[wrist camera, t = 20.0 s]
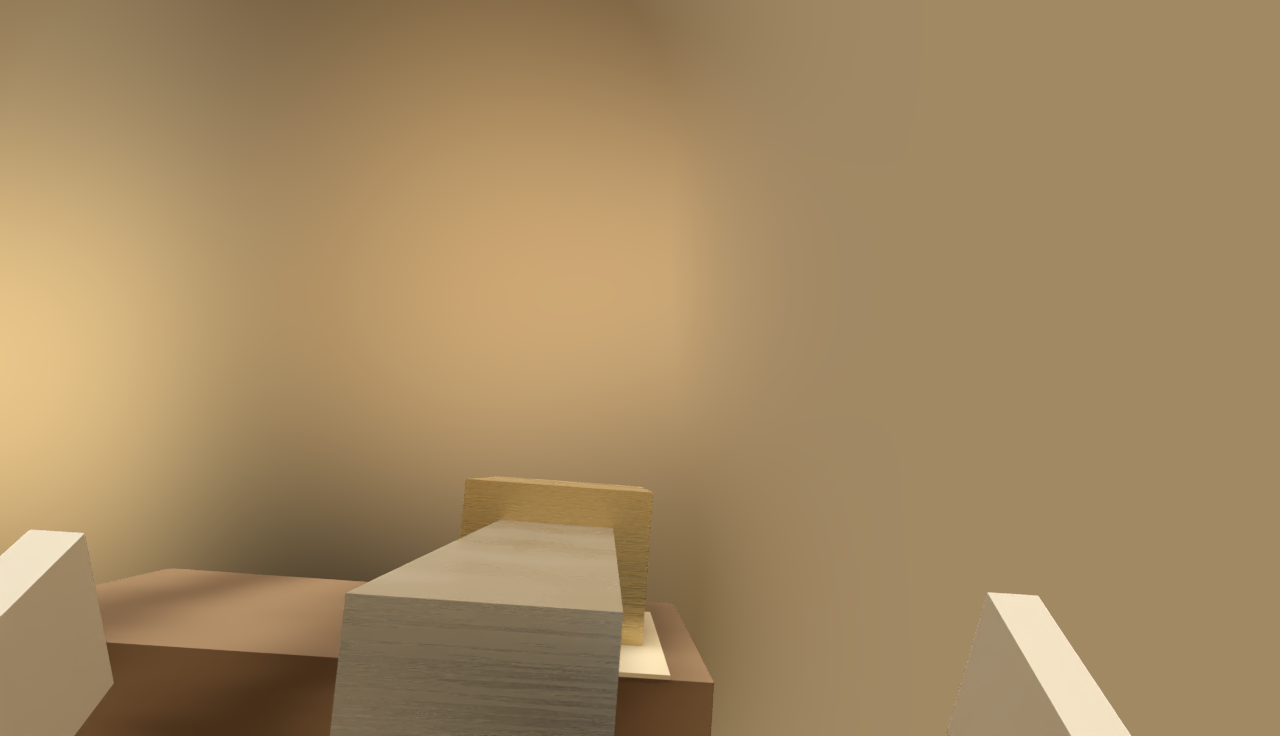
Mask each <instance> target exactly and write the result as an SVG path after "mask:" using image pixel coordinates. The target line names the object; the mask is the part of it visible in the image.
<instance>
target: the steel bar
mask: <svg viewBox="0 0 1280 736" xmlns="http://www.w3.org/2000/svg"><path fill="white" fill-rule="evenodd" d="M652 500H653V492H651V491H649V490H647V489H645V488H643V487H636V486H623V485H609V484H596V483H583V482H568V481H556V480H542V479H528V478H515V477H514V478H513V477H487V478H473V479H466V483H465V494H464V505H463V514H462V525H461V535H460V539H458V540H456V541H454V542H452V543H450V544H448V545H446V546H444V547H442V548H439V549H437V550H435V551H433V552H431V553H429V554H427V555H425V556H423V557H420V558H418V559H416V560H414V561H412V562H410V563H408V564H406V565H404V566H402V567H399V568H398V569H395V570H393V571H391V572H389V573H387V574H385V575H382V576H381V577H378V578H376V579H374V580H372V581H370V582H368V583H366V584H364V585H361V586H359V587H357V588H355V589H353V590H351V591H349V592H347V593H345V602H344V611H343V620H342V630H341V639H340V648H339V657H338V666H337V675H336V684H335V693H334V702H333V711H332V720H331V729H330V736H614V730H615V716H616V703H617V689H618V676H619V662H620V649H621V645H633V646H642V642H643V628H644V614H645V599H646V585H647V572H648V557H649V543H650V528H651V515H652Z"/></svg>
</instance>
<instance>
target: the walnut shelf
mask: <svg viewBox="0 0 1280 736" xmlns="http://www.w3.org/2000/svg"><path fill="white" fill-rule="evenodd" d="M366 583H368V582H359V581H344V580H330V579H315V578H302V577H288V576H273V575H258V574H244V573H230V572H216V571H200V570H186V569H172V568H169V569H164V570H161V571H155V572H151V573H147V574H143V575H138V576H134V577H129V578H125V579H120V580H116V581H112V582H107V583H103V584H99V585H95V588H96V594H97V599H98V604H99V609H100V614H101V619H102V624H103V630H104V635H105V640H106V645H107V650H108V655H109V661H110V666H111V671H112V676H113V681H114V684H113V685H112V686H111V688H110V689H109V690H108V692H107V693H106V694H105V696H104V697H103V698H102V700H101V701H100V702H99V704H98V705H97V706H96V708H95V709H94V710H93V712H92V713H91V714H90V716H89V717H88V718H87V720H86V721H85V722H84V724H83V725H82V726H81V728H80V729H79V730H78V732H77V733H76V734H75V736H330V729H331V720H332V711H333V702H334V693H335V684H336V675H337V666H338V657H339V648H340V639H341V630H342V620H343V611H344V602H345V593H347V592H349V591H351V590H353V589H355V588H357V587H359V586H361V585H364V584H366ZM713 691H714V682H713V680H712V678H711V676H710V674H709V672H708V670H707V668H706V666H705V664H704V662H703V660H702V659H701V657H700V655H699V653H698V651H697V649H696V647H695V645H694V643H693V641H692V639H691V637H690V635H689V633H688V631H687V629H686V627H685V626H684V623H683V621H682V619H681V617H680V616H679V614H678V612H677V610H676V608H675V606H674V604H673V603H661V602H646V601H645V614H644V628H643V642H642V646H633V645H621V649H620V662H619V676H618V689H617V703H616V716H615V730H614V736H711V723H712V707H713Z"/></svg>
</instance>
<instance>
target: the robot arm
mask: <svg viewBox="0 0 1280 736" xmlns="http://www.w3.org/2000/svg"><path fill="white" fill-rule="evenodd" d="M113 684H114V681H113V676H112V671H111V666H110V661H109V655H108V650H107V645H106V640H105V635H104V630H103V624H102V619H101V614H100V609H99V604H98V599H97V594H96V588H95V584H94V578H93V573H92V568H91V563H90V558H89V552H88V548H87V542H86V537H85V533H74V532H59V531H43V530H29V531H28V532H27V533H26V534H24V535H23V536H22V537H21V538H20V539H19V540H18V541H17V542H16V543H14V544H13V545H12V546H11V547H10V548H9V549H8V550H7V551H5V552H4V554H2V555H1V556H0V736H75V734H76V733H77V732H78V730H79V729H80V728H81V726H82V725H83V724H84V722H85V721H86V720H87V718H88V717H89V716H90V714H91V713H92V712H93V710H94V709H95V708H96V706H97V705H98V704H99V702H100V701H101V700H102V698H103V697H104V696H105V694H106V693H107V692H108V690H109V689H110V688H111V686H112V685H113ZM947 734H948V736H1131V735H1130V733H1129V732H1128V731H1127V729H1126V728H1125V726H1124V724H1123V723H1122V721H1121V720H1120V718H1119V717H1118V716H1117V714H1116V712H1115V711H1114V709H1113V708H1112V707H1111V705H1110V703H1109V702H1108V700H1107V699H1106V697H1105V696H1104V694H1103V693H1102V691H1101V690H1100V688H1099V687H1098V685H1097V684H1096V682H1095V681H1094V679H1093V678H1092V676H1091V675H1090V673H1089V672H1088V671H1087V669H1086V667H1085V666H1084V664H1083V663H1082V661H1081V660H1080V658H1079V657H1078V656H1077V654H1076V652H1075V651H1074V649H1073V648H1072V646H1071V645H1070V643H1069V642H1068V640H1067V639H1066V637H1065V636H1064V634H1063V633H1062V631H1061V630H1060V628H1059V627H1058V625H1057V624H1056V622H1055V621H1054V619H1053V618H1052V616H1051V615H1050V613H1049V612H1048V610H1047V609H1046V607H1045V606H1044V604H1043V603H1042V601H1041V600H1040V598H1039V597H1038V596H1033V595H1018V594H1003V593H987V596H986V599H985V603H984V606H983V609H982V613H981V616H980V620H979V623H978V627H977V630H976V633H975V637H974V640H973V644H972V647H971V651H970V654H969V658H968V662H967V664H966V668H965V671H964V675H963V678H962V682H961V685H960V689H959V692H958V695H957V699H956V702H955V706H954V709H953V713H952V716H951V720H950V723H949V727H948V730H947Z"/></svg>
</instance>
